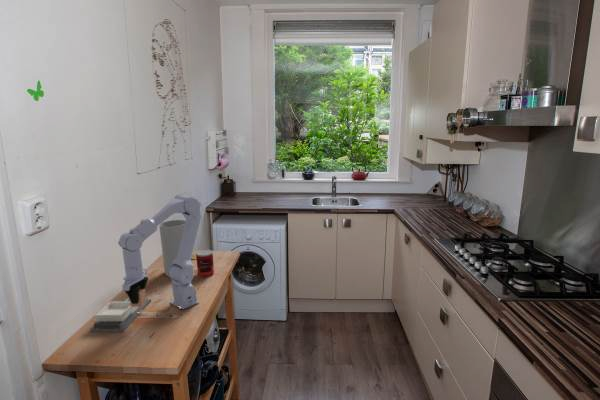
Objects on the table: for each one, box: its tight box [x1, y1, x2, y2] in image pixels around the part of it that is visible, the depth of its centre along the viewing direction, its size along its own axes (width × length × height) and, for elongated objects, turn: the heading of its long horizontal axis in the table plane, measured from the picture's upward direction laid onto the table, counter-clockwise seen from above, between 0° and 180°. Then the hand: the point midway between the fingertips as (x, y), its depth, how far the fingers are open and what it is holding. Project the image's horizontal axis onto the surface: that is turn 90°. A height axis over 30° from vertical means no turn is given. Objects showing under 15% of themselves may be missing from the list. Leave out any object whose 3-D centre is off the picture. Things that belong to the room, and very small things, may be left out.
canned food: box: [195, 249, 215, 278], centre depth 176 cm, size 8×8×11 cm
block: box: [130, 288, 147, 307], centre depth 135 cm, size 4×4×5 cm
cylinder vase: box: [158, 219, 186, 277], centre depth 177 cm, size 12×12×25 cm
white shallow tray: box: [94, 301, 136, 322], centre depth 136 cm, size 10×10×4 cm
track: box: [90, 298, 152, 333], centre depth 141 cm, size 22×12×3 cm, turn 177°
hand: (138, 300), depth 135 cm, fingers closed on block, 4 cm apart
